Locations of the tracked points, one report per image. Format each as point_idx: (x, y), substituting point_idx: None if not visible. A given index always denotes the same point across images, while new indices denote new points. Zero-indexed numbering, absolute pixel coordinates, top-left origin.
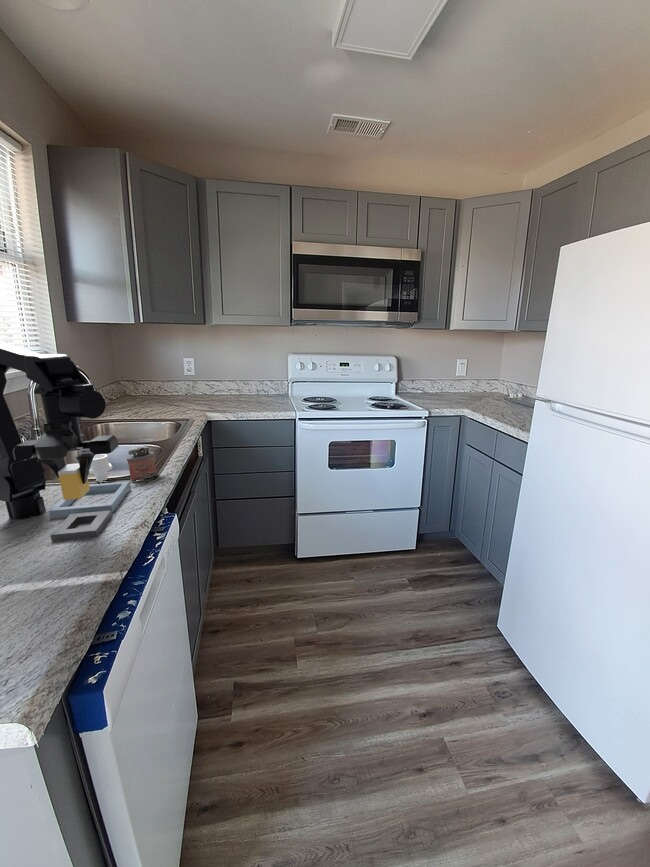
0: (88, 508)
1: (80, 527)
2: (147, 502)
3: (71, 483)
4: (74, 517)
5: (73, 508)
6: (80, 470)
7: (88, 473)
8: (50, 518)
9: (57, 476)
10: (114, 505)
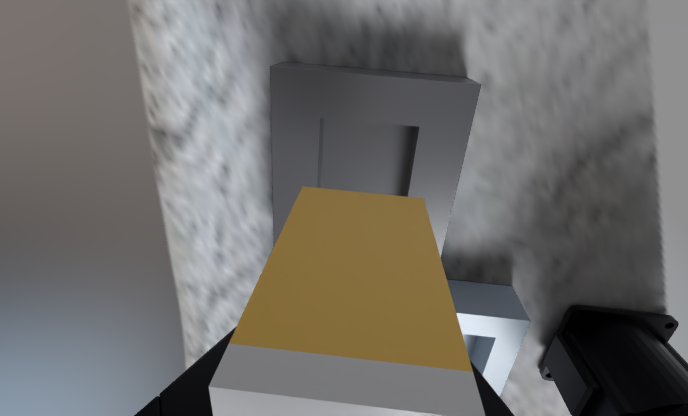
0: None
1: (378, 179)
2: (205, 328)
3: (335, 264)
4: None
5: None
6: (211, 410)
7: None
8: (516, 296)
9: (496, 395)
10: None
